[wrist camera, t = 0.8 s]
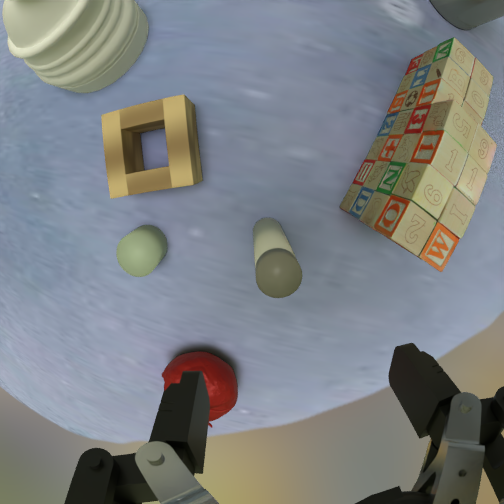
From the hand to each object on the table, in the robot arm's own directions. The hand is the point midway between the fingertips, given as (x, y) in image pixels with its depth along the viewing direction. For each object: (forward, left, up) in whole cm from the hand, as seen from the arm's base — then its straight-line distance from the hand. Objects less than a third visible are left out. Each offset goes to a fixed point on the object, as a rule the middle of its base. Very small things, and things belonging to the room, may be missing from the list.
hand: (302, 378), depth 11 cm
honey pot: (-26, -17, -21) cm, 37 cm away
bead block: (-11, -10, -21) cm, 25 cm away
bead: (-1, -13, -21) cm, 24 cm away
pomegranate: (+17, -10, -21) cm, 29 cm away
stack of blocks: (-10, +16, -21) cm, 28 cm away
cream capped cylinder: (-1, 0, -21) cm, 21 cm away
